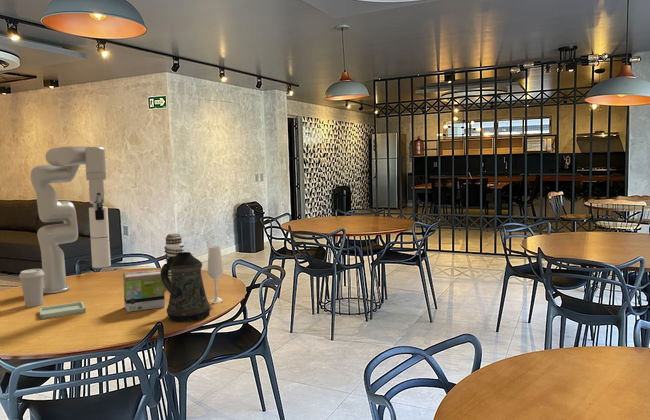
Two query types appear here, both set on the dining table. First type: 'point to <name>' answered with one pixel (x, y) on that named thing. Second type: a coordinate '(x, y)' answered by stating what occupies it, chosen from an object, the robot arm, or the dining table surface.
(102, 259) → the cylindrical container
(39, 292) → the coffee cup
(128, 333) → the dining table surface
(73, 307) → the tray
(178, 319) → the beer stein
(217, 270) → the champagne flute
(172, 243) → the decorative candle
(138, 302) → the tea box
